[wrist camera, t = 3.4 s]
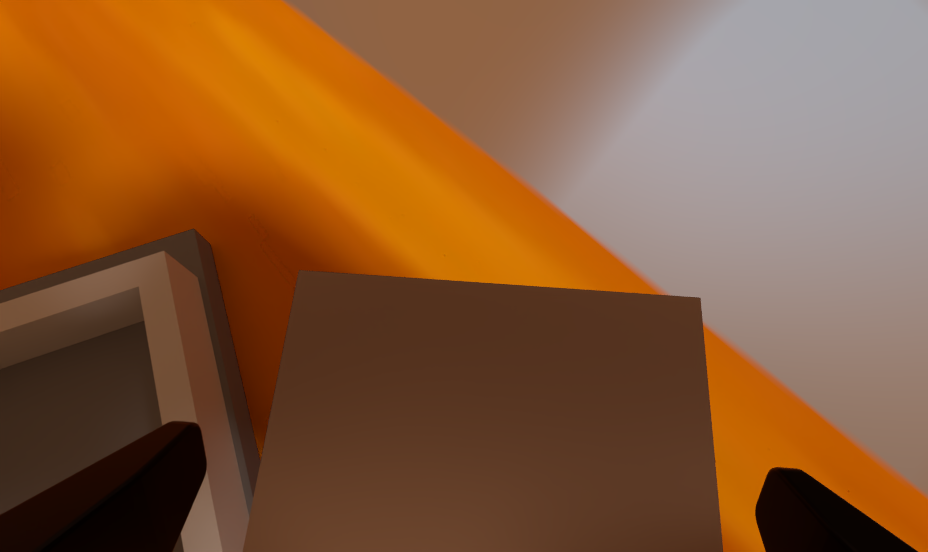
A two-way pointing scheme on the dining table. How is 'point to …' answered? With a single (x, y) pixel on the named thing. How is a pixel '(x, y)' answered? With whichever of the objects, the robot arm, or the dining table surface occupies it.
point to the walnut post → (486, 421)
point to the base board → (126, 378)
